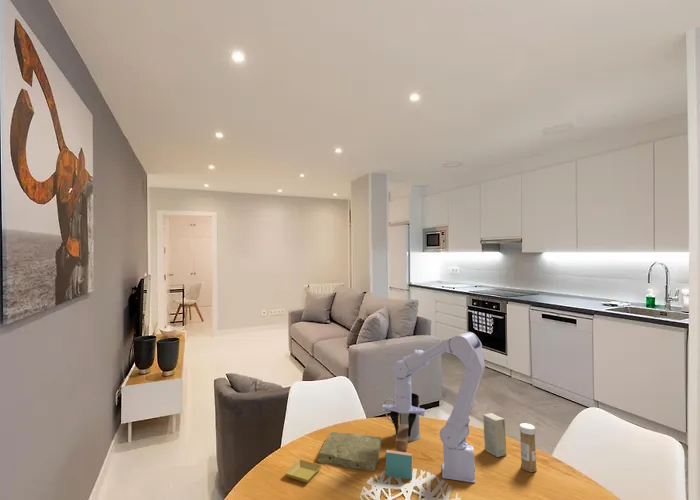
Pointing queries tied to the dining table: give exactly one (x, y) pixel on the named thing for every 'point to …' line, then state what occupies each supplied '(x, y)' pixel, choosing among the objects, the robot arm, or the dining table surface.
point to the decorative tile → (351, 450)
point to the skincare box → (494, 434)
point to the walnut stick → (402, 438)
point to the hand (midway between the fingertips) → (403, 434)
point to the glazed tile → (399, 464)
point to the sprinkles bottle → (528, 447)
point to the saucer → (303, 470)
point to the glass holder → (404, 418)
